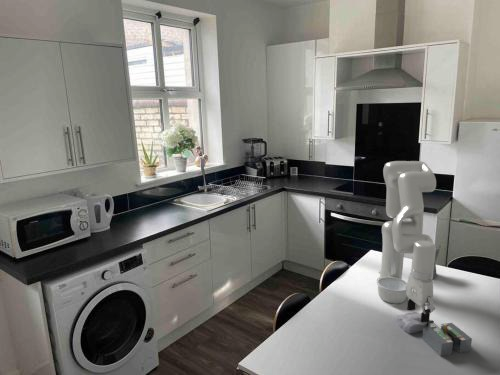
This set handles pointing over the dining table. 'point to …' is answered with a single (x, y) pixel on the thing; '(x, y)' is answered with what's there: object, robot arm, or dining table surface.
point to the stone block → (410, 322)
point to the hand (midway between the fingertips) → (417, 315)
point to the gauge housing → (446, 339)
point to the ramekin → (392, 289)
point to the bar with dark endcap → (439, 328)
